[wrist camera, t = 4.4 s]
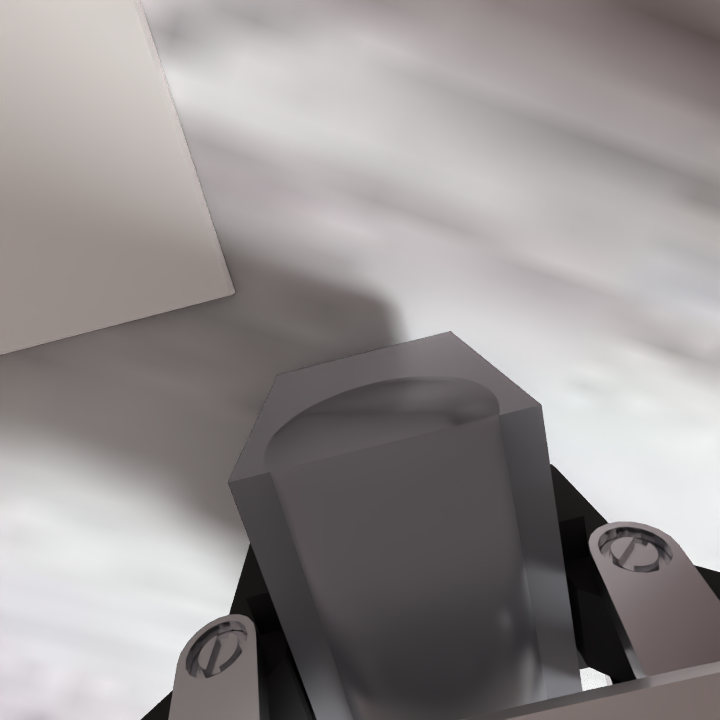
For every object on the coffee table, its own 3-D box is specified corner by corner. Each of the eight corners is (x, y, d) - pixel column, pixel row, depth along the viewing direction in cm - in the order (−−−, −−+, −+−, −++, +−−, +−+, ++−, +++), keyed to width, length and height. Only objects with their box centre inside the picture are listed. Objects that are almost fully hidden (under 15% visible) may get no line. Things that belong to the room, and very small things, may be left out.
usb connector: (450, 331, 11) (580, 436, 5) (512, 646, 13) (642, 953, 8) (277, 374, 11) (206, 528, 5) (373, 679, 14) (399, 1006, 8)
